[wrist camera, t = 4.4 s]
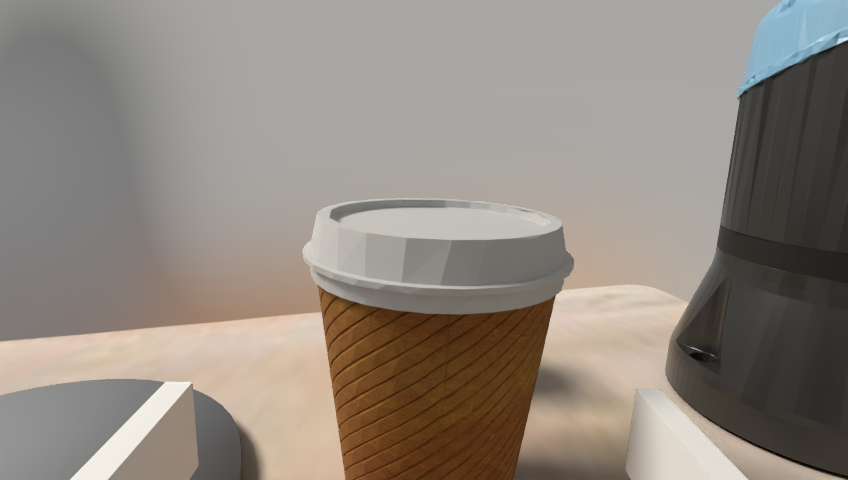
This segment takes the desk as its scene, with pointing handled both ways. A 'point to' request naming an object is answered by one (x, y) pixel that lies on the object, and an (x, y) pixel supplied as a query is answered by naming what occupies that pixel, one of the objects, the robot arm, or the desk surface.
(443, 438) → the disposable coffee cup
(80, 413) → the round gray coaster
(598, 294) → the desk surface
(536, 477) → the desk surface
